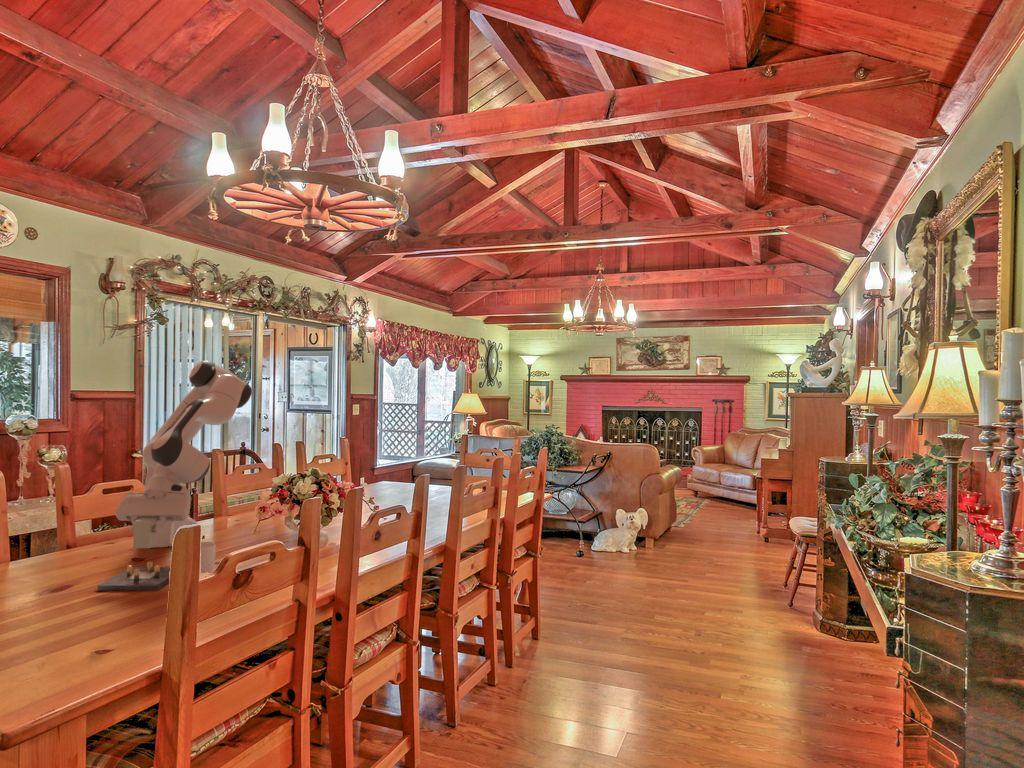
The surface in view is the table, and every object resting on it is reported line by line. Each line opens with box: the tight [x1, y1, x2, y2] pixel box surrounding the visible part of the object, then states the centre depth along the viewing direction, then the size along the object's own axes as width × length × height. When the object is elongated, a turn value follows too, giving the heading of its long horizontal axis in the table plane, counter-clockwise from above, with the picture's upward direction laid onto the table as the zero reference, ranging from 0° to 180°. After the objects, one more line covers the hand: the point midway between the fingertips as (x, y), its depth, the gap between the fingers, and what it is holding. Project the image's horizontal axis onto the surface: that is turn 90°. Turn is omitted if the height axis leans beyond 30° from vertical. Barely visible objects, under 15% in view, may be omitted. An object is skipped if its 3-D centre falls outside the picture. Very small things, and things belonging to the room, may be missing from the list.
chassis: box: [97, 561, 171, 592], centre depth 187 cm, size 18×16×4 cm
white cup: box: [200, 541, 217, 577], centre depth 191 cm, size 8×8×10 cm
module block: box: [132, 518, 157, 549], centre depth 187 cm, size 4×4×8 cm
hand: (144, 531), depth 186 cm, fingers closed on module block, 4 cm apart
